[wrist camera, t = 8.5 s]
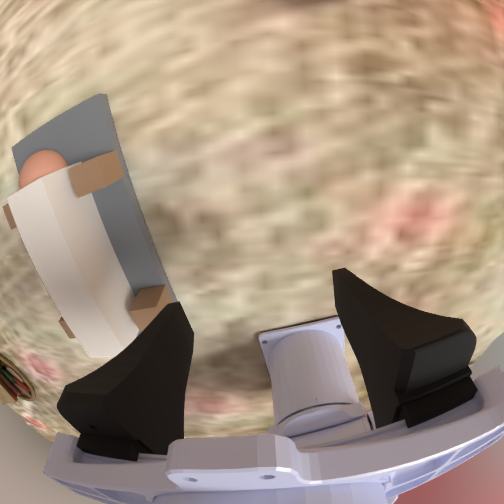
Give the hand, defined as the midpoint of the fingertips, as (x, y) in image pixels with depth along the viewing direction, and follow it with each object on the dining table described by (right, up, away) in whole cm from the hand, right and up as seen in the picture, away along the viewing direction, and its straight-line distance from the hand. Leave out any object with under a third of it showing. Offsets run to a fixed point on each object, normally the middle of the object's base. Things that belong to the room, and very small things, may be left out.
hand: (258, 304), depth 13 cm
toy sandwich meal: (-43, -19, +20) cm, 51 cm away
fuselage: (-13, +3, +7) cm, 16 cm away
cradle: (-13, +3, +9) cm, 16 cm away
